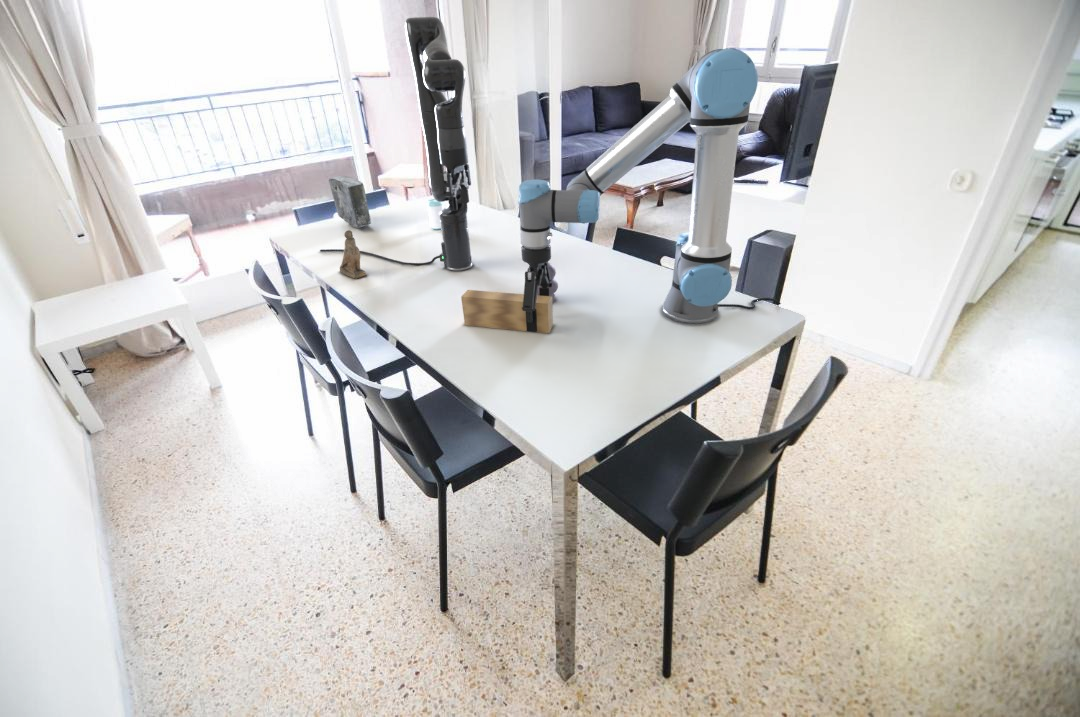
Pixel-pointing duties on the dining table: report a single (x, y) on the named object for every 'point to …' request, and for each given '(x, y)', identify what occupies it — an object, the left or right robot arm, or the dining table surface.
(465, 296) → the bar
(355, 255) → the worn brown figurine
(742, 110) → the right robot arm
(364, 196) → the concrete block
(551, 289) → the cat figurine
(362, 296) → the dining table surface
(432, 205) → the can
